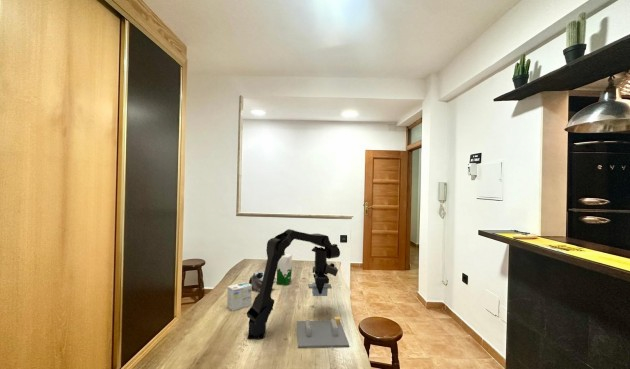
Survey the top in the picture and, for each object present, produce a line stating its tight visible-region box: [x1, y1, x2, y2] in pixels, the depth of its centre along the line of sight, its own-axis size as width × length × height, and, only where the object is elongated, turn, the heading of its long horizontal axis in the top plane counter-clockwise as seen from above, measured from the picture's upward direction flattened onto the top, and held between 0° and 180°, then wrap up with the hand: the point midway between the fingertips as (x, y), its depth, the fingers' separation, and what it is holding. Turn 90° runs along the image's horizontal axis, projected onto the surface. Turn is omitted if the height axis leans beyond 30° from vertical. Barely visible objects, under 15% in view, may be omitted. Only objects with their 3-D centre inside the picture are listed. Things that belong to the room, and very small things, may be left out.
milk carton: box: [276, 250, 293, 286], centre depth 179 cm, size 9×9×20 cm
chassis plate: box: [296, 316, 350, 349], centre depth 118 cm, size 20×20×4 cm
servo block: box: [308, 281, 333, 297], centre depth 137 cm, size 11×4×6 cm, turn 95°
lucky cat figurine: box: [248, 270, 277, 292], centre depth 167 cm, size 15×12×14 cm
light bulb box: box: [226, 281, 253, 312], centre depth 143 cm, size 11×7×11 cm, turn 135°
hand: (319, 292), depth 137 cm, fingers closed on servo block, 4 cm apart
